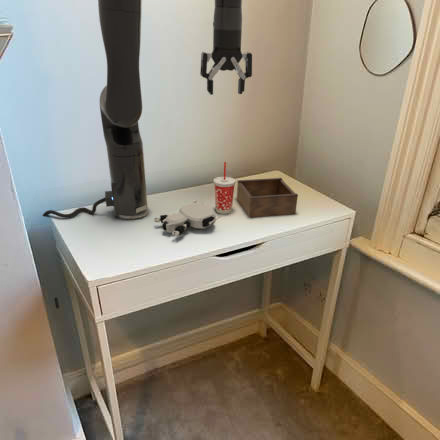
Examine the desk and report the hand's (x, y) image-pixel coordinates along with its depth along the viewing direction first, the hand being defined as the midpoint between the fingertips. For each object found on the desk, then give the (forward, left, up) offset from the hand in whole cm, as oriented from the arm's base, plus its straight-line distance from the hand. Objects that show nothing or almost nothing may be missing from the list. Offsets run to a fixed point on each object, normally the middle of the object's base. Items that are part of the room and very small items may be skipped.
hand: (225, 93), depth 124 cm
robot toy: (-16, -26, -28) cm, 42 cm away
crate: (+9, -16, -28) cm, 34 cm away
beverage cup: (-4, -17, -28) cm, 33 cm away
